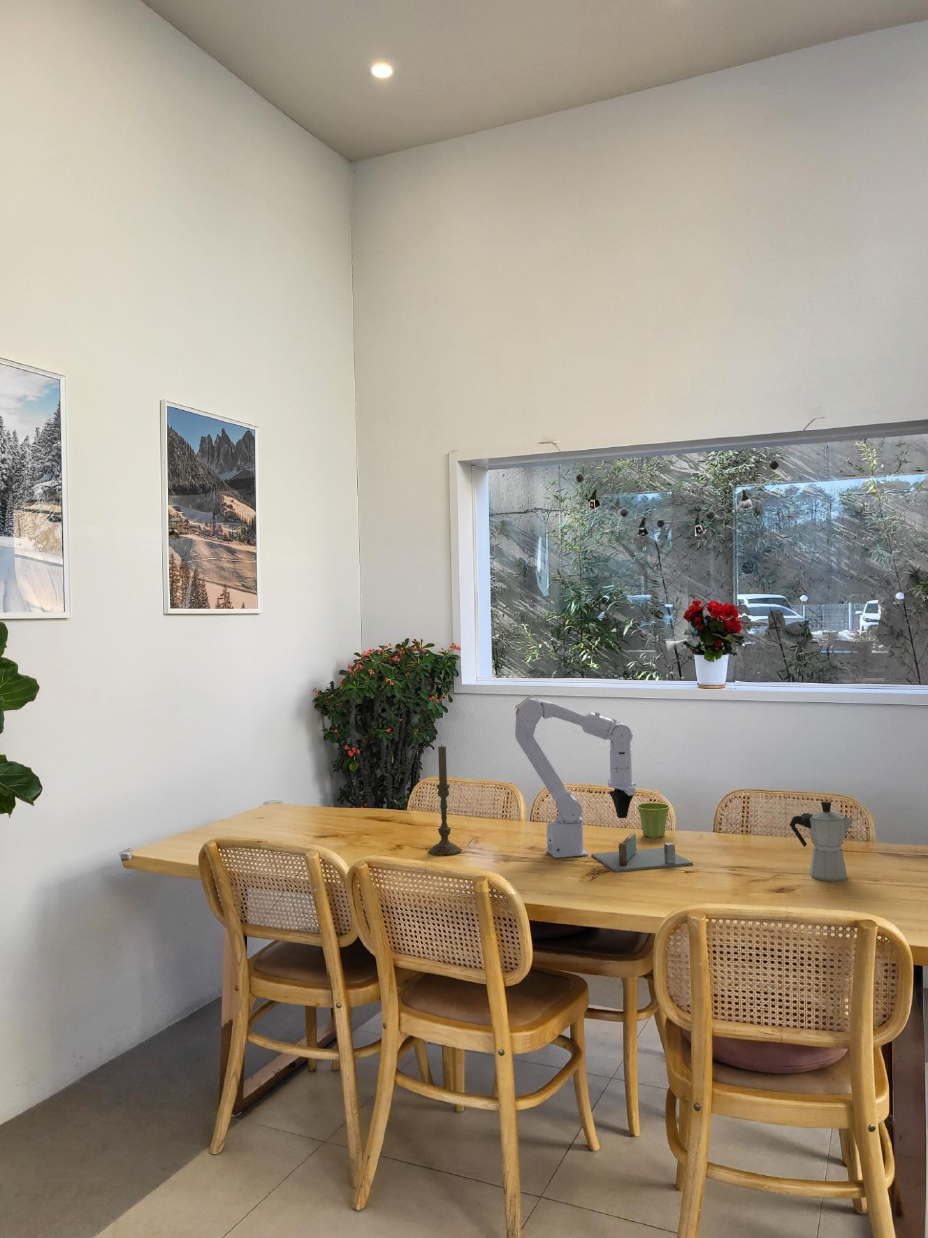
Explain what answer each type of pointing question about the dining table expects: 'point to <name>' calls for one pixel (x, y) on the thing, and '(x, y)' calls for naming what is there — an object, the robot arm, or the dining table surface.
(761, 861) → the dining table surface
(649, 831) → the plant pot
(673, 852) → the dark grey rectangular block
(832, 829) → the coffee maker
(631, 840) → the gate
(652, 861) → the slate mat
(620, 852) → the hinge post
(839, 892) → the dining table surface
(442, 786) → the candlestick holder
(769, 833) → the dining table surface
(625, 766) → the robot arm
